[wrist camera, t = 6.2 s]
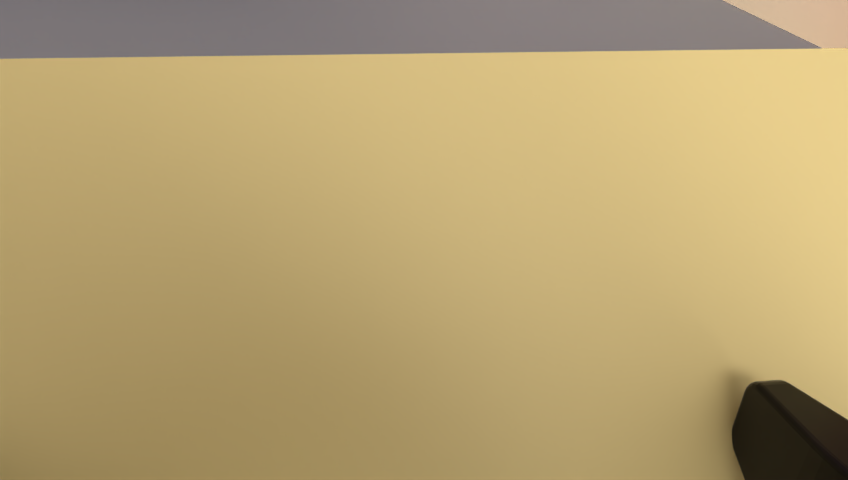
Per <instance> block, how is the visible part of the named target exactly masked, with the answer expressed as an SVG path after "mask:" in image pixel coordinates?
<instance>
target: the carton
mask: <svg viewBox="0 0 848 480" xmlns="http://www.w3.org/2000/svg"><path fill="white" fill-rule="evenodd" d="M742 49H822V48H820V47H818V46H816V45H814V44H812V43H810V42H808V41H806V40H804V39H802V38H800V37H797V36H795V35H793V34H791V33H789V32H787V31H785V30H783V29H781V28H779V27H777V26H775V25H772V24H770V23H768V22H766V21H764V20H762V19H760V18H758V17H756V16H754V15H752V14H750V13H748V12H745V11H743V10H741V9H739V8H737V7H735V6H733V5H731V4H729V3H727V2H725V1H723V0H0V59H20V58H101V57H181V56H261V55H341V54H421V53H501V52H581V51H661V50H742Z"/></svg>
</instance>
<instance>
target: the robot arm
mask: <svg viewBox="0 0 848 480" xmlns="http://www.w3.org/2000/svg"><path fill="white" fill-rule="evenodd" d="M732 444H733V449H734V452H735V455H736V458H737V460H738V463H739V466H740V468H741V471H742V474H743V476H744V479H745V480H848V419H846V418H844V417H843V416H841V415H840V414H838V413H836V412H835V411H833V410H832V409H830V408H828V407H827V406H825V405H824V404H822V403H820V402H819V401H817V400H816V399H814V398H812V397H811V396H809V395H808V394H806V393H804V392H803V391H801V390H800V389H798V388H796V387H795V386H793V385H792V384H790V383H788V382H786V381H783V380H769V381H755V382H752V383H750V384H749V385H748V386H747V387H746V389H745V391H744V394H743V397H742V400H741V403H740V406H739V409H738V412H737V415H736V418H735V421H734V423H733V426H732Z"/></svg>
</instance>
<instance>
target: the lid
mask: <svg viewBox="0 0 848 480" xmlns="http://www.w3.org/2000/svg"><path fill="white" fill-rule="evenodd" d="M769 380H783V381H786V382H788V383H790V384H792V385H793V386H795V387H796V388H798V389H800V390H801V391H803V392H804V393H806V394H808V395H809V396H811V397H812V398H814V399H816V400H817V401H819V402H820V403H822V404H824V405H825V406H827V407H828V408H830V409H832V410H833V411H835V412H836V413H838V414H840V415H841V416H843V417H844V418H846V419H848V48H822V49H742V50H661V51H581V52H501V53H421V54H341V55H261V56H181V57H101V58H20V59H0V480H745V479H744V476H743V474H742V471H741V468H740V466H739V463H738V460H737V458H736V455H735V452H734V449H733V444H732V426H733V423H734V421H735V418H736V415H737V412H738V409H739V406H740V403H741V400H742V397H743V394H744V391H745V389H746V387H747V386H748V385H749V384H750V383H752V382H755V381H769Z"/></svg>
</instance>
